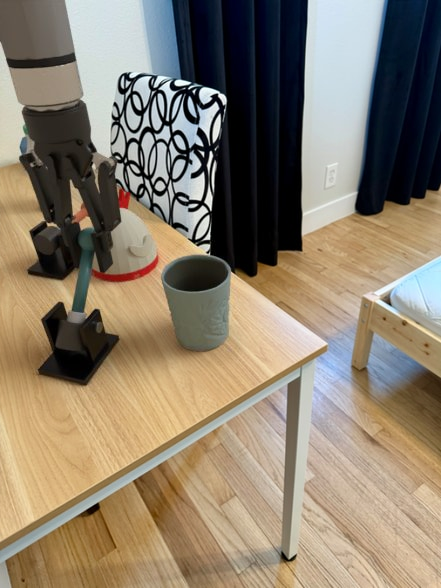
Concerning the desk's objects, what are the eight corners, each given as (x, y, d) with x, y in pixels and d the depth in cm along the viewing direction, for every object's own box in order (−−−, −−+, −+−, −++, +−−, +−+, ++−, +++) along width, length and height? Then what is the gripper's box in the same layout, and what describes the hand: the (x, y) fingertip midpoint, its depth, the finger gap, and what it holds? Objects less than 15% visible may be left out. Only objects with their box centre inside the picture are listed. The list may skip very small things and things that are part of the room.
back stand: (57, 249, 93) (47, 215, 88) (90, 254, 90) (82, 219, 86) (27, 274, 85) (14, 238, 80) (62, 280, 83) (51, 244, 78)
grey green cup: (243, 340, 68) (244, 278, 61) (186, 364, 64) (179, 301, 57) (213, 306, 75) (209, 247, 68) (159, 326, 71) (150, 265, 64)
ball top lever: (88, 228, 66) (71, 222, 62) (113, 232, 65) (98, 225, 61) (67, 344, 66) (48, 345, 62) (92, 349, 65) (75, 351, 60)
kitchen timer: (172, 256, 89) (164, 187, 80) (125, 289, 80) (110, 216, 71) (123, 238, 95) (111, 173, 86) (75, 268, 86) (55, 198, 77)
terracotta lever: (87, 213, 98) (82, 195, 95) (104, 215, 96) (100, 197, 94) (37, 253, 84) (30, 233, 81) (56, 256, 83) (50, 236, 80)
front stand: (76, 330, 71) (64, 291, 66) (120, 339, 69) (111, 300, 64) (38, 374, 63) (21, 333, 59) (86, 386, 61) (73, 345, 56)
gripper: (130, 97, 52) (154, 260, 66) (15, 92, 56) (61, 246, 70) (98, 114, 46) (132, 288, 61) (-27, 107, 51) (32, 271, 65)
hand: (94, 265), depth 65 cm, fingers closed on ball top lever, 4 cm apart
